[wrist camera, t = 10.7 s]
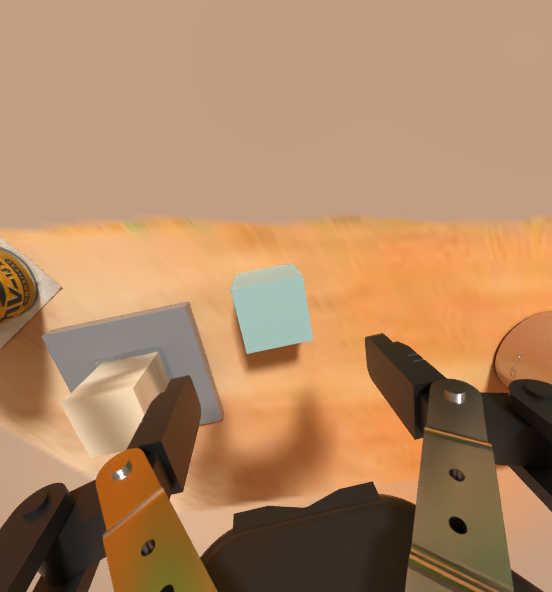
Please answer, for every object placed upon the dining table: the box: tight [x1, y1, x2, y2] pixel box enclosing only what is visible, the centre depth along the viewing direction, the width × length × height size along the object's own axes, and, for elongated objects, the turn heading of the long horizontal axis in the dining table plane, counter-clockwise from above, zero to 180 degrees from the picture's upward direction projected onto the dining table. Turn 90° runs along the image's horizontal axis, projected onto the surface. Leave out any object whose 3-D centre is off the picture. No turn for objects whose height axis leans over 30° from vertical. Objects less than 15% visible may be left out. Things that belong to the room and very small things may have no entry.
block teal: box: [231, 263, 313, 354], centre depth 21 cm, size 5×5×5 cm
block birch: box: [61, 352, 169, 458], centre depth 21 cm, size 5×5×5 cm
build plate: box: [41, 302, 223, 425], centre depth 24 cm, size 12×12×1 cm
